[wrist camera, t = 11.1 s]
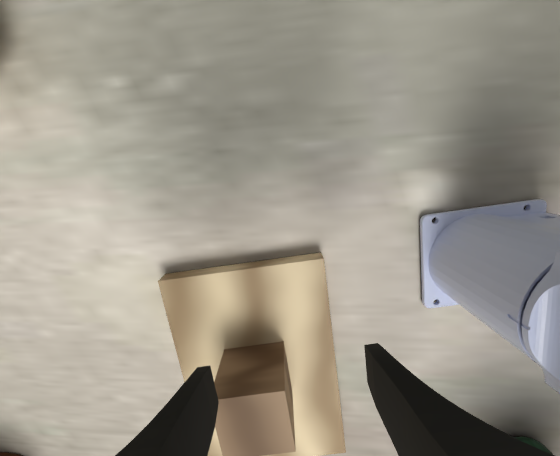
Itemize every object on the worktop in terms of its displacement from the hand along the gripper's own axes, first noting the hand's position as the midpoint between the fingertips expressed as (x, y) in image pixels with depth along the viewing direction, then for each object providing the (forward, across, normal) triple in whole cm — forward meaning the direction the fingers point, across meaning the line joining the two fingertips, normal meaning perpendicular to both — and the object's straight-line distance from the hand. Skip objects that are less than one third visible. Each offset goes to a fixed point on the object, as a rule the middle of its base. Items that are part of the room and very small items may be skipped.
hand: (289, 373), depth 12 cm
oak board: (+10, +3, +8) cm, 13 cm away
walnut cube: (+9, +3, +7) cm, 12 cm away
